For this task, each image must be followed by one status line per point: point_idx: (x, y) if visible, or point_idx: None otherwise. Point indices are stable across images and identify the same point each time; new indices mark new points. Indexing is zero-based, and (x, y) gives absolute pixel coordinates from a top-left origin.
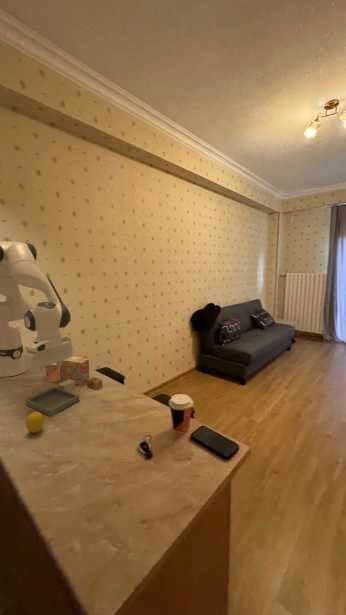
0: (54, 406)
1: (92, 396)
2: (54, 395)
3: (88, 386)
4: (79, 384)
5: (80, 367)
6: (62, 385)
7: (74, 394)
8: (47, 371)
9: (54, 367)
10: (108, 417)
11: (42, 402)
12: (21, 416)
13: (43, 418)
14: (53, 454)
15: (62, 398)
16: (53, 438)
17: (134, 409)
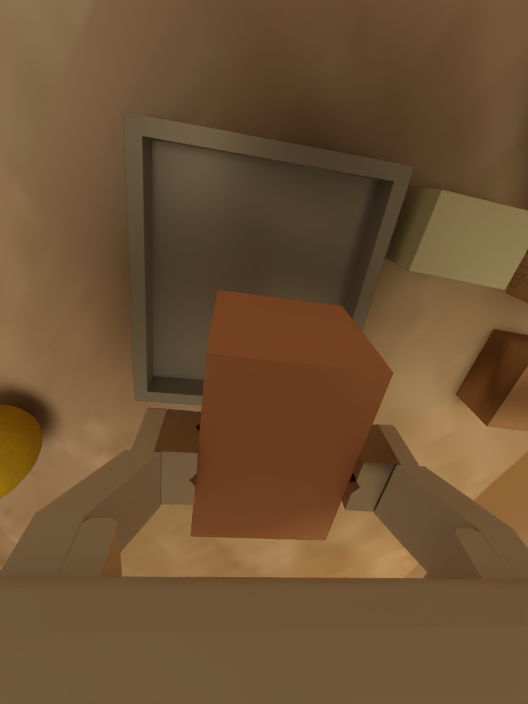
0: None
1: (387, 417)
2: (328, 226)
3: (493, 342)
4: (519, 271)
5: None
6: (415, 255)
7: None
8: (186, 494)
9: (364, 468)
10: (257, 541)
11: (215, 225)
12: (37, 224)
13: (24, 477)
14: (8, 532)
15: None
16: (53, 486)
17: (333, 570)
